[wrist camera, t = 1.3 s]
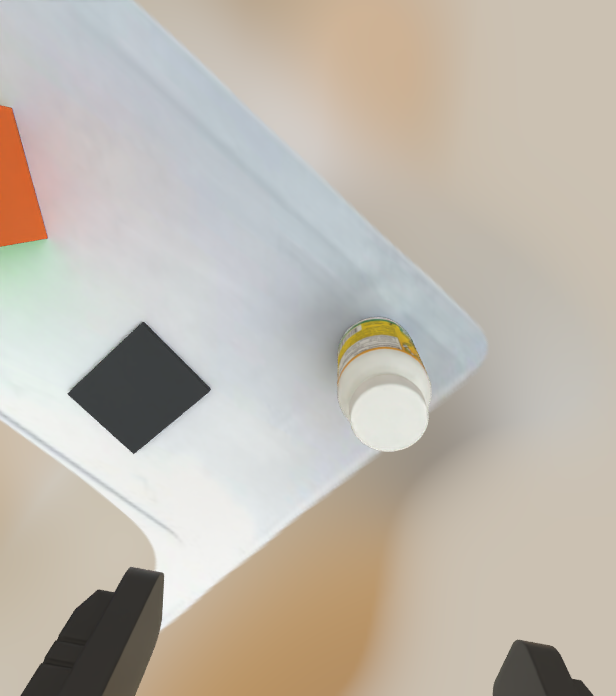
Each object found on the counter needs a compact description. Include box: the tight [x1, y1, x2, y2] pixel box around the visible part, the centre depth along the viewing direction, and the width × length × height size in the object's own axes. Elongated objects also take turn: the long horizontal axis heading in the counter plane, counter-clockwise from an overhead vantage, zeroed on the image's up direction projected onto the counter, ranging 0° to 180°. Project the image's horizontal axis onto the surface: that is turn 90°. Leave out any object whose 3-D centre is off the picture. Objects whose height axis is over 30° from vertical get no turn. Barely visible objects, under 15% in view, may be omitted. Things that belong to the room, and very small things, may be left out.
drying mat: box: [68, 322, 211, 454], centre depth 33 cm, size 9×7×1 cm
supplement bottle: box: [337, 317, 431, 452], centre depth 27 cm, size 5×5×10 cm
